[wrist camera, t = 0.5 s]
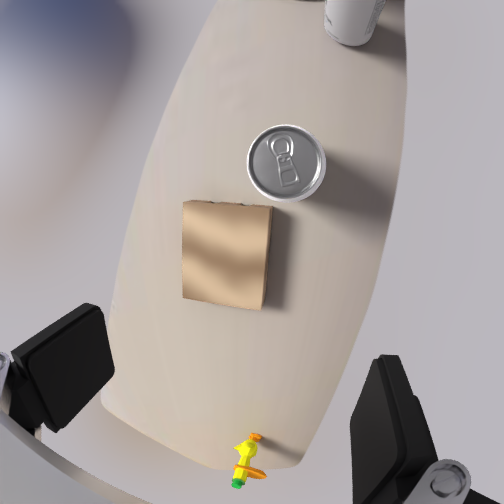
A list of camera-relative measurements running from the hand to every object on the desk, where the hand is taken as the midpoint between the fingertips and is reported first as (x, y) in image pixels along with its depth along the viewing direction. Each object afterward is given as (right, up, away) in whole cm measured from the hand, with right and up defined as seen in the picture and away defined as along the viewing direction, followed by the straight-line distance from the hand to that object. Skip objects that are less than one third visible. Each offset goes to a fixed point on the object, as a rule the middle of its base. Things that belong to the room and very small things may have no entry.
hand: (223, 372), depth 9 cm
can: (+6, +13, +23) cm, 28 cm away
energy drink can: (+13, +31, +17) cm, 38 cm away
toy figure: (+2, -29, +35) cm, 46 cm away
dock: (-2, +4, +27) cm, 28 cm away
